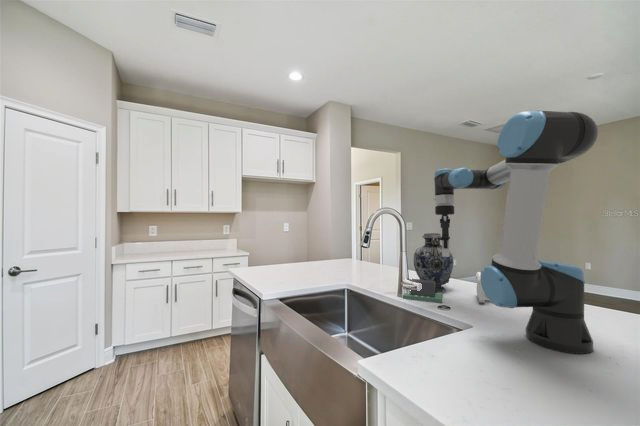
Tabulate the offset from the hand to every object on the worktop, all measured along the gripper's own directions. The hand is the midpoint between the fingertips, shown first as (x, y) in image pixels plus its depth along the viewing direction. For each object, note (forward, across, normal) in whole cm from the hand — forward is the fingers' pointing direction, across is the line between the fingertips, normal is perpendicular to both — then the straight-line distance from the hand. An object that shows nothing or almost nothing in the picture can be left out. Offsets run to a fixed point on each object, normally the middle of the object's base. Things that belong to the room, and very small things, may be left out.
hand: (445, 255), depth 122 cm
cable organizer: (+20, -10, +18) cm, 29 cm away
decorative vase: (+20, -23, -6) cm, 31 cm away
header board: (+20, -4, -10) cm, 22 cm away
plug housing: (+18, -4, -10) cm, 21 cm away
